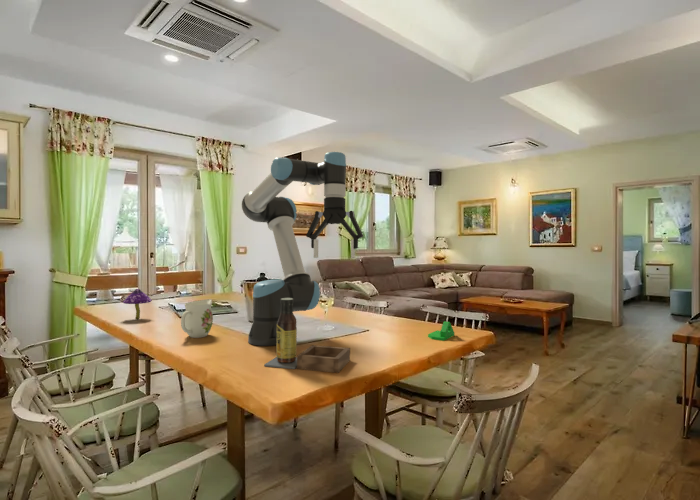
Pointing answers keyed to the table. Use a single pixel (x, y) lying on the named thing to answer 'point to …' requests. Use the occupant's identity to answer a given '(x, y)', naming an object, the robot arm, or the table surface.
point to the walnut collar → (323, 358)
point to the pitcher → (197, 318)
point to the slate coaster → (281, 364)
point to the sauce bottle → (286, 332)
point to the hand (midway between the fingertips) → (334, 258)
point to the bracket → (442, 332)
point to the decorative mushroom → (137, 300)
